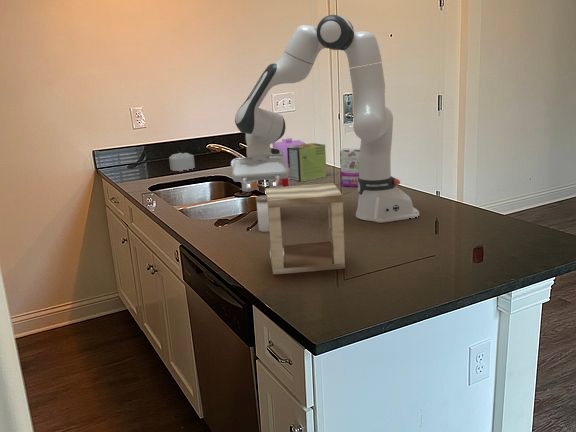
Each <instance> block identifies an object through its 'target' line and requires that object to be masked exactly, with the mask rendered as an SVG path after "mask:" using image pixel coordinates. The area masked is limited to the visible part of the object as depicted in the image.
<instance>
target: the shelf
mask: <svg viewBox="0 0 576 432" xmlns="http://www.w3.org/2000/svg"><path fill="white" fill-rule="evenodd" d="M265 195H266V198H267V204H268V219H269V231H268V232H269V246H270V249H269V258H270V263H271V270H272V274H273V275H283V274H295V273H304V272H305V273H306V272H307V273H308V272H317V271H329V270H331V271H332V270H344V269H346V261H345V257H346V256H345V235H344V234H345V232H344V230H345V229H344V228H345V227H344V225H345V224H344V199H343V198H344V197H343V196H344V195H343V194H342V193H341V191H340V190H339V188H338V187H337V186H336V185H335V183H334V182H332V183H331V182H330V183H319V184H318V183H317V184H305V185H304V184H303V185H291V186H289V187H276V188H273V187H265ZM321 204H322V205H323V204H324V205H325V204H326V205H327V209H328V212H327V213H328V235H329V241H323V242H322V241H321V242H309V243H297V244H284V245H283V239H282V237H283V235H282V220H281V208H285V207H286V208H287V207H296V206H297V207H299V206H310V205H311V206H312V205H321Z"/></svg>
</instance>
